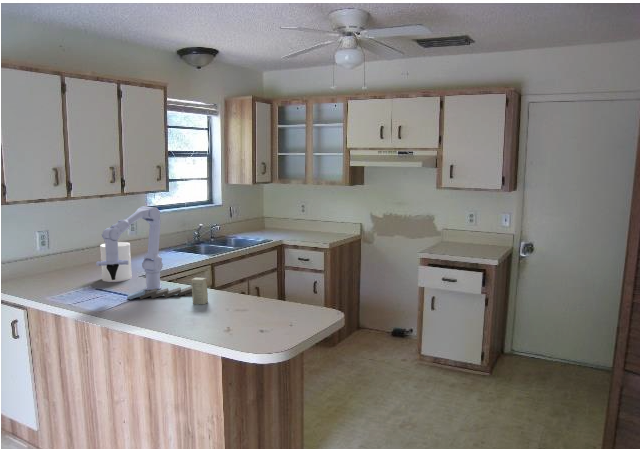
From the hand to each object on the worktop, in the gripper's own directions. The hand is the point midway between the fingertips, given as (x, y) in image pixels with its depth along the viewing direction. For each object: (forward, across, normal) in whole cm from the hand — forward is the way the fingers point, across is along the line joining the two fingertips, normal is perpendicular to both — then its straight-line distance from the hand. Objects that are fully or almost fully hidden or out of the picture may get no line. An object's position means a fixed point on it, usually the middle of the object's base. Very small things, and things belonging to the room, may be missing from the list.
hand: (113, 279), depth 245 cm
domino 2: (+10, +12, 0) cm, 15 cm away
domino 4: (+10, +24, 0) cm, 26 cm away
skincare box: (+10, +41, -16) cm, 45 cm away
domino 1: (+10, +6, 0) cm, 11 cm away
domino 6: (+10, +34, 0) cm, 35 cm away
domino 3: (+10, +18, 0) cm, 20 cm away
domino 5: (+9, +30, +1) cm, 32 cm away
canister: (+10, -5, +45) cm, 46 cm away
